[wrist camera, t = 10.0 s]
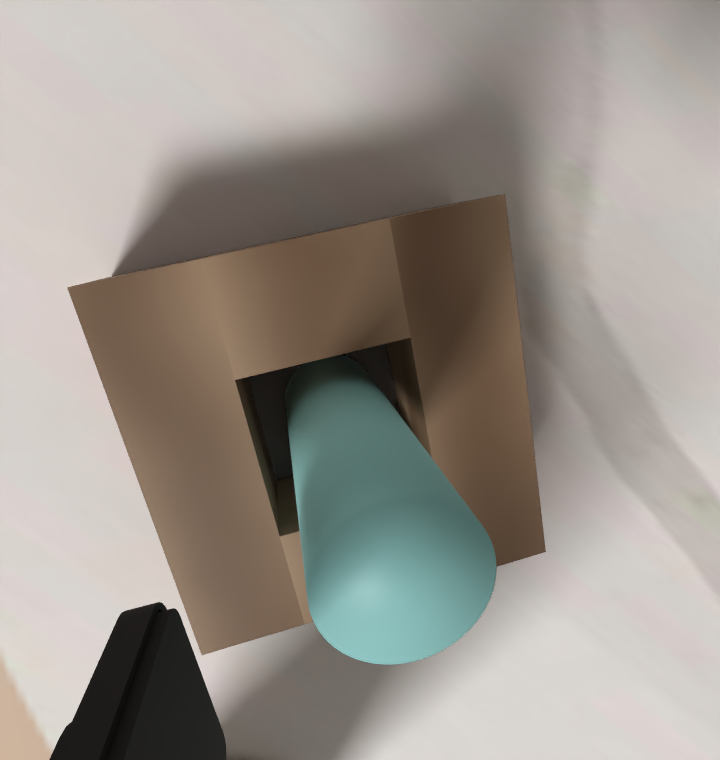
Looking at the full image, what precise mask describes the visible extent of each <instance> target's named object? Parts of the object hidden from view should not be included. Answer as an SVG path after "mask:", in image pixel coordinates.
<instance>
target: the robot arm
mask: <svg viewBox="0 0 720 760" xmlns="http://www.w3.org/2000/svg"><path fill="white" fill-rule="evenodd" d="M50 760H226V743H225V738H224V734H223V731H222V728H221V725H220V723H219V720H218V717H217V715H216V712H215V709H214V707H213V704H212V701H211V698H210V696H209V693H208V690H207V688H206V685H205V682H204V679H203V677H202V674H201V671H200V669H199V666H198V663H197V661H196V658H195V655H194V652H193V650H192V647H191V644H190V642H189V639H188V636H187V633H186V631H185V628H184V625H183V623H182V620H181V617H180V615H179V613H178V611H177V610H176V609H174V608H173V609H169V610H167V609H166V607H165V606H164V605H163V603H160V602H158V603H154V604H150V605H146V606H142V607H139V608H135V609H131V610H127V611H124V612H122V613H121V614H120V616H119V618H118V620H117V622H116V624H115V626H114V629H113V631H112V633H111V635H110V638H109V640H108V642H107V644H106V647H105V649H104V651H103V653H102V656H101V658H100V660H99V662H98V665H97V667H96V669H95V671H94V674H93V676H92V678H91V680H90V683H89V685H88V687H87V689H86V692H85V694H84V696H83V698H82V701H81V703H80V705H79V707H78V710H77V712H76V714H75V716H74V719H73V721H72V722H71V723H70V724H69V725H68V726H66V728H65V730H64V731H63V733H62V735H61V736H60V738H59V740H58V742H57V744H56V747H55V749H54V751H53V753H52V755H51V758H50Z"/></svg>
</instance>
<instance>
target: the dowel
mask: <svg viewBox="0 0 720 760" xmlns="http://www.w3.org/2000/svg"><path fill="white" fill-rule="evenodd" d="M285 407H286V416H287V425H288V434H289V442H290V451H291V460H292V469H293V477H294V486H295V495H296V504H297V512H298V521H299V530H300V539H301V548H302V556H303V565H304V574H305V583H306V591H307V600H308V606H309V611H310V614H311V617H312V619H313V622H314V624H315V625H316V627H317V629H318V631H319V632H320V633H321V635H322V636H323V637H324V638H325V640H326V641H327V642H329V643H330V644H331V645H332V646H333V647H334V648H336V649H337V650H339V651H340V652H342V653H343V654H345V655H347V656H349V657H351V658H354V659H357V660H360V661H363V662H368V663H373V664H384V665H389V664H402V663H409V662H413V661H417V660H421V659H424V658H426V657H429V656H432V655H434V654H436V653H438V652H440V651H442V650H444V649H445V648H447V647H448V646H450V645H452V644H453V643H454V642H456V641H457V640H458V639H460V638H461V637H462V636H463V635H464V634H465V633H466V632H467V631H468V630H469V629H471V627H472V626H473V625H474V624H475V623H476V621H477V620H478V619H479V617H480V616H481V614H482V613H483V611H484V610H485V608H486V606H487V604H488V602H489V600H490V597H491V594H492V592H493V589H494V584H495V579H496V556H495V552H494V547H493V544H492V542H491V539H490V537H489V535H488V533H487V532H486V530H485V528H484V527H483V526H482V524H481V523H480V522H479V520H478V519H477V518H476V516H475V515H474V514H473V512H472V511H471V510H470V508H469V507H468V506H467V504H466V503H465V502H464V500H463V499H462V498H461V496H460V495H459V494H458V492H457V491H456V490H455V488H454V487H453V486H452V484H451V483H450V482H449V480H448V479H447V478H446V476H445V475H444V474H443V472H442V471H441V470H440V468H439V467H438V466H437V464H436V463H435V462H434V460H433V459H432V458H431V456H430V455H429V454H428V452H427V451H426V450H425V448H424V447H423V446H422V444H421V443H420V442H419V440H418V439H417V438H416V436H415V435H414V434H413V432H412V431H411V430H410V428H409V427H408V426H407V424H406V423H405V422H404V420H403V419H402V418H401V416H400V415H399V414H398V412H397V411H396V410H395V408H394V407H393V406H392V404H391V403H390V402H389V400H388V399H387V398H386V396H385V395H384V394H383V392H382V391H381V390H380V388H379V387H378V386H377V384H376V383H375V382H374V380H373V379H372V378H371V376H370V375H369V374H368V372H367V371H366V370H365V369H364V367H362V366H361V365H360V364H359V363H358V362H356V361H355V360H353V359H351V358H349V357H346V356H342V355H336V356H332V357H328V358H324V359H320V360H316V361H312V362H308V363H304V364H302V365H301V366H300V367H299V368H298V369H297V370H296V371H295V372H294V374H293V375H292V376H291V378H290V380H289V382H288V385H287V388H286V392H285Z"/></svg>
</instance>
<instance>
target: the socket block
mask: <svg viewBox="0 0 720 760" xmlns="http://www.w3.org/2000/svg"><path fill="white" fill-rule="evenodd" d="M68 291H69V293H70V296H71V299H72V302H73V304H74V307H75V310H76V313H77V315H78V318H79V321H80V323H81V326H82V329H83V332H84V334H85V337H86V340H87V343H88V345H89V348H90V351H91V353H92V356H93V359H94V362H95V364H96V367H97V370H98V373H99V375H100V378H101V381H102V384H103V386H104V389H105V392H106V394H107V397H108V400H109V403H110V405H111V408H112V411H113V414H114V416H115V419H116V422H117V425H118V427H119V430H120V433H121V435H122V438H123V441H124V444H125V446H126V449H127V452H128V455H129V457H130V460H131V463H132V466H133V468H134V471H135V474H136V476H137V479H138V482H139V485H140V487H141V490H142V493H143V496H144V498H145V501H146V504H147V506H148V509H149V512H150V515H151V517H152V520H153V523H154V526H155V528H156V531H157V534H158V537H159V539H160V542H161V545H162V547H163V550H164V553H165V556H166V558H167V561H168V564H169V567H170V569H171V572H172V575H173V578H174V580H175V583H176V586H177V588H178V591H179V594H180V597H181V599H182V602H183V605H184V608H185V610H186V613H187V616H188V619H189V621H190V624H191V627H192V629H193V632H194V635H195V638H196V640H197V643H198V646H199V649H200V651H201V654H202V655H204V654H207V653H211V652H214V651H217V650H221V649H224V648H227V647H231V646H234V645H237V644H241V643H244V642H247V641H251V640H254V639H257V638H261V637H264V636H267V635H271V634H274V633H277V632H281V631H284V630H287V629H290V628H294V627H297V626H300V625H304V624H307V623H310V622H313V619H312V617H311V614H310V611H309V606H308V600H307V591H306V583H305V574H304V565H303V556H302V548H301V539H300V530H299V521H298V512H297V504H296V495H295V486H294V477H293V476H290V477H287V478H283V479H279V480H276V476H275V473H274V469H273V465H272V462H271V458H270V455H269V451H268V447H267V444H266V440H265V437H264V433H263V430H262V426H261V422H260V419H259V415H258V412H257V408H256V404H255V401H254V397H253V394H252V390H251V386H250V383H249V379H248V377H250V376H254V375H258V374H262V373H266V372H270V371H275V370H279V369H283V368H287V367H291V366H295V365H299V364H303V363H308V362H312V361H316V360H320V359H324V358H328V357H332V356H336V355H341V354H345V353H349V352H353V351H357V350H361V349H365V348H370V347H374V346H378V345H382V344H386V345H387V350H388V356H389V361H390V366H391V371H392V376H393V382H394V387H395V392H396V397H397V402H398V408H399V413H400V416H401V418H402V419H403V420H404V422H405V423H406V424H407V426H408V427H409V428H410V430H411V431H412V432H413V434H414V435H415V436H416V438H417V439H418V440H419V442H420V443H421V444H422V446H423V447H424V448H425V450H426V451H427V452H428V454H429V455H430V456H431V458H432V459H433V460H434V462H435V463H436V464H437V466H438V467H439V468H440V470H441V471H442V472H443V474H444V475H445V476H446V478H447V479H448V480H449V482H450V483H451V484H452V486H453V487H454V488H455V490H456V491H457V492H458V494H459V495H460V496H461V498H462V499H463V500H464V502H465V503H466V504H467V506H468V507H469V508H470V510H471V511H472V512H473V514H474V515H475V516H476V518H477V519H478V520H479V522H480V523H481V524H482V526H483V527H484V528H485V530H486V532H487V533H488V535H489V537H490V539H491V542H492V544H493V547H494V552H495V556H496V567H497V566H500V565H503V564H507V563H510V562H513V561H517V560H520V559H523V558H527V557H530V556H533V555H537V554H540V553H543V552H546V551H545V542H544V533H543V525H542V516H541V507H540V498H539V489H538V481H537V472H536V463H535V454H534V445H533V437H532V428H531V419H530V410H529V402H528V393H527V384H526V375H525V366H524V358H523V349H522V340H521V331H520V323H519V314H518V305H517V296H516V287H515V279H514V270H513V261H512V252H511V244H510V235H509V226H508V217H507V208H506V200H505V194H502V195H497V196H491V197H486V198H481V199H475V200H470V201H465V202H459V203H454V204H449V205H445V206H440V207H435V208H431V209H426V210H421V211H417V212H412V213H407V214H403V215H398V216H393V217H389V218H384V219H379V220H375V221H370V222H365V223H360V224H356V225H351V226H346V227H342V228H337V229H332V230H328V231H323V232H318V233H314V234H309V235H304V236H300V237H295V238H290V239H286V240H281V241H276V242H271V243H267V244H262V245H257V246H253V247H248V248H243V249H239V250H234V251H229V252H225V253H220V254H215V255H211V256H206V257H201V258H197V259H192V260H187V261H183V262H178V263H173V264H168V265H164V266H159V267H154V268H150V269H145V270H140V271H136V272H131V273H126V274H122V275H117V276H112V277H108V278H104V279H100V280H96V281H92V282H88V283H84V284H80V285H76V286H72V287H68Z"/></svg>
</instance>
